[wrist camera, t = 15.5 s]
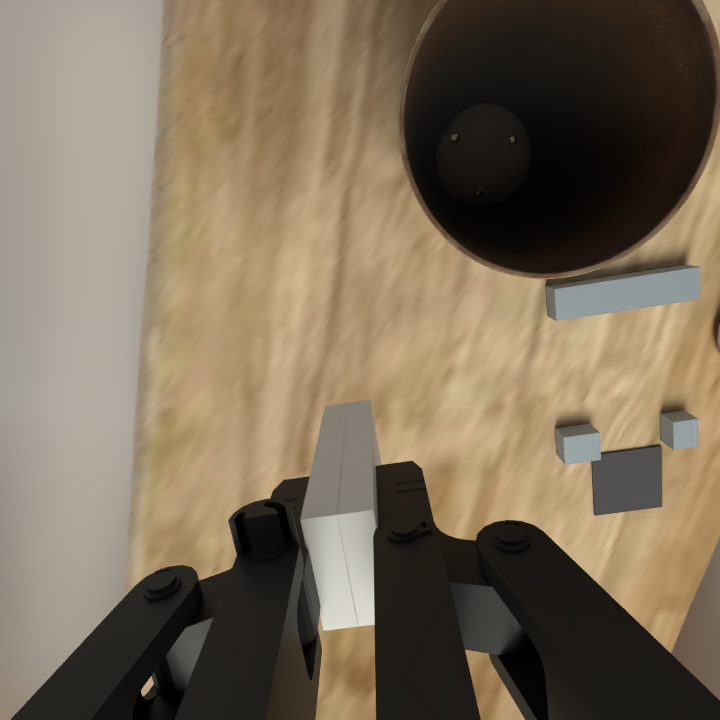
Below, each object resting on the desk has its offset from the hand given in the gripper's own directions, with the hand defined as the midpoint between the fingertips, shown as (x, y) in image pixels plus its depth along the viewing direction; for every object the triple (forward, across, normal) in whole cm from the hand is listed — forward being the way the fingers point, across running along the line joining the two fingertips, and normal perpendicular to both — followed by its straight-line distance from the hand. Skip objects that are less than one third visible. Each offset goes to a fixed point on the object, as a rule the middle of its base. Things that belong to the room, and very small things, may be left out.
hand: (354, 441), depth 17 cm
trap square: (+26, +21, -19) cm, 39 cm away
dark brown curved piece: (+27, +11, +10) cm, 30 cm away
